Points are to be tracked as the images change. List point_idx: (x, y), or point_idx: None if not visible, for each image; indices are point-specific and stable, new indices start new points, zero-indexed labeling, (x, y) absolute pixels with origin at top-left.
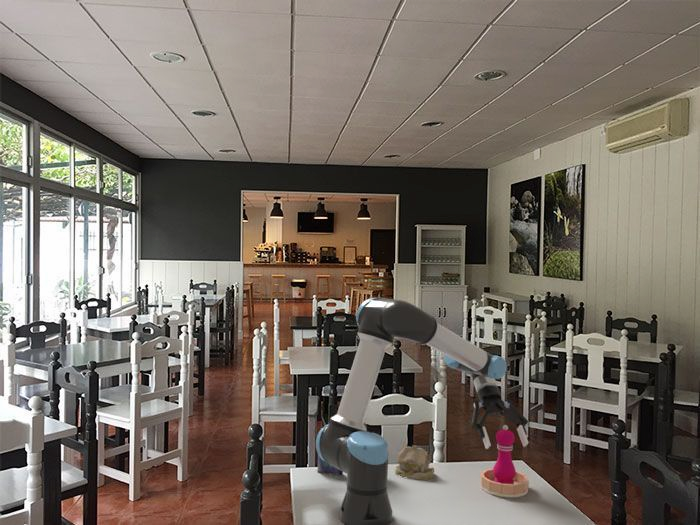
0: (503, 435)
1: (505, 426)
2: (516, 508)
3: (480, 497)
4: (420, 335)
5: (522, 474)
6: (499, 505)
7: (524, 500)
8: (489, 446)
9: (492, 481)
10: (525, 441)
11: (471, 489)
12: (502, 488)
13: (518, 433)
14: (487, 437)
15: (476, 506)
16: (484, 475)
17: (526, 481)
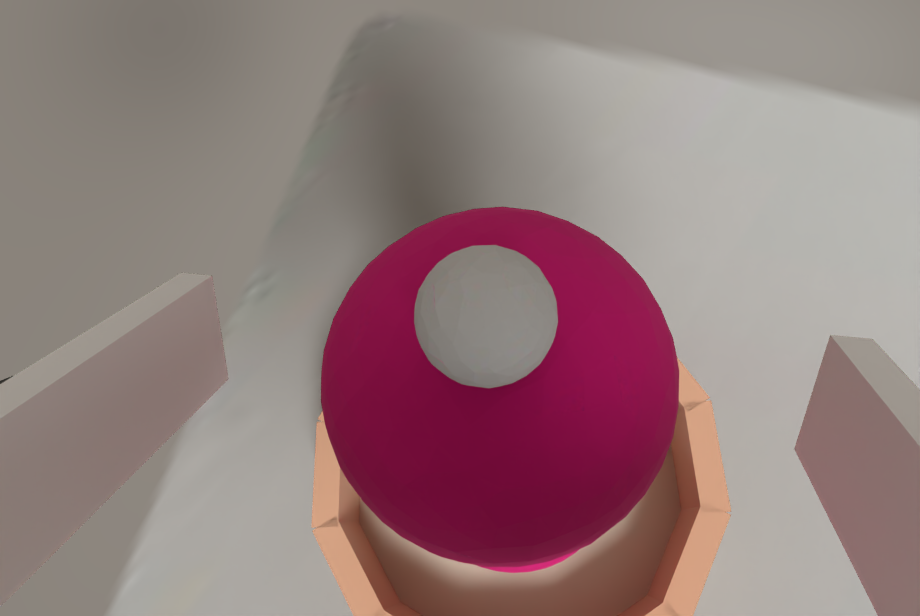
0: (612, 254)
1: (513, 256)
2: (626, 179)
3: (782, 385)
4: None
5: (330, 453)
6: (711, 240)
7: None
8: (821, 381)
9: (682, 394)
10: (198, 300)
11: (786, 547)
12: None
13: (84, 518)
14: (915, 414)
15: (880, 266)
16: (640, 612)
17: None
